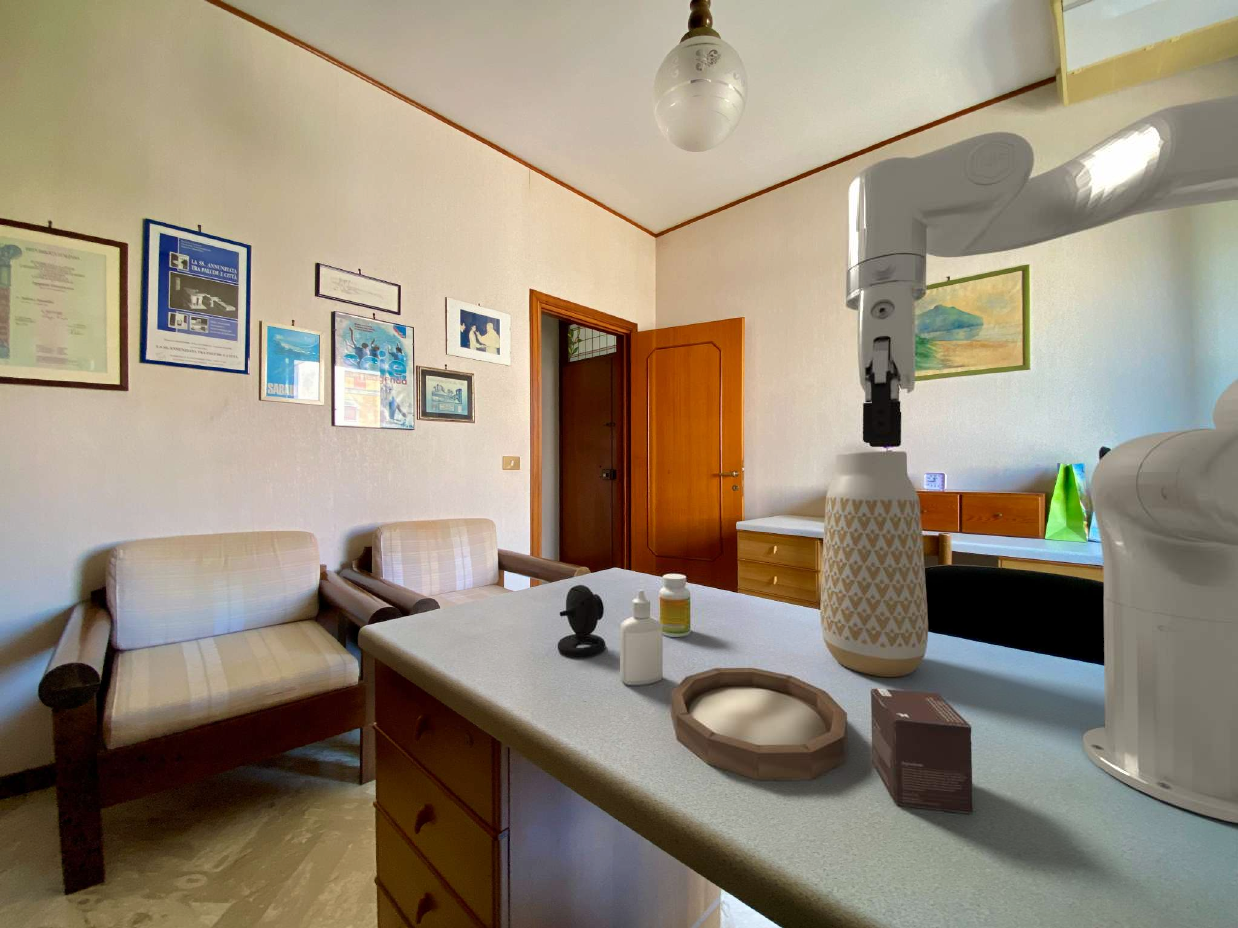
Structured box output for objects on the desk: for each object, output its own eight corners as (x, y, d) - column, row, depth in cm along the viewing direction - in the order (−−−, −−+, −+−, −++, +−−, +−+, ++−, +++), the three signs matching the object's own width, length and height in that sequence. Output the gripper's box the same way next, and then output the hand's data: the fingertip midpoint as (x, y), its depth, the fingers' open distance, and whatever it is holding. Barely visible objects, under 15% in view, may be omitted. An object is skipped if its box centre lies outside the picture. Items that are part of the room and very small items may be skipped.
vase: (908, 695, 58) (906, 449, 59) (803, 661, 69) (802, 452, 69) (941, 664, 67) (939, 451, 68) (844, 638, 78) (842, 454, 78)
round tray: (850, 708, 55) (850, 687, 55) (838, 805, 39) (838, 775, 39) (703, 676, 64) (703, 657, 64) (646, 744, 48) (645, 719, 48)
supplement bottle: (692, 638, 78) (692, 579, 78) (660, 637, 78) (660, 579, 78) (688, 627, 84) (688, 572, 84) (658, 626, 84) (658, 572, 84)
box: (975, 817, 38) (974, 727, 38) (893, 807, 39) (893, 719, 39) (939, 770, 44) (939, 691, 44) (870, 762, 45) (869, 686, 45)
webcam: (615, 651, 72) (614, 587, 73) (572, 663, 68) (572, 594, 68) (589, 636, 79) (589, 577, 79) (549, 646, 75) (549, 583, 75)
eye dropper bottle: (660, 689, 60) (659, 595, 60) (617, 684, 61) (617, 593, 61) (664, 674, 64) (663, 587, 64) (624, 670, 66) (623, 585, 66)
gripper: (929, 245, 41) (928, 440, 41) (923, 304, 56) (922, 447, 56) (836, 264, 45) (834, 441, 45) (853, 314, 60) (852, 448, 60)
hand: (883, 444), depth 50 cm, fingers open, 9 cm apart
